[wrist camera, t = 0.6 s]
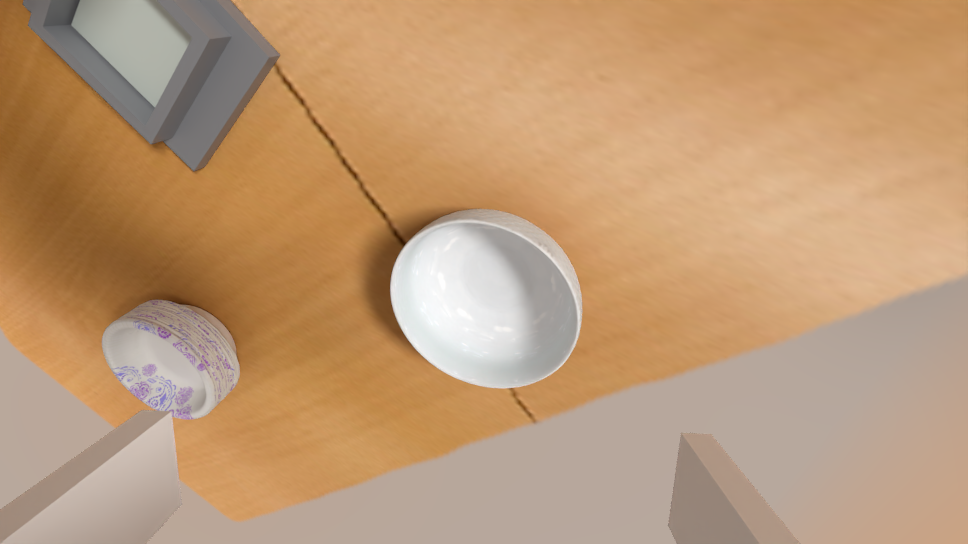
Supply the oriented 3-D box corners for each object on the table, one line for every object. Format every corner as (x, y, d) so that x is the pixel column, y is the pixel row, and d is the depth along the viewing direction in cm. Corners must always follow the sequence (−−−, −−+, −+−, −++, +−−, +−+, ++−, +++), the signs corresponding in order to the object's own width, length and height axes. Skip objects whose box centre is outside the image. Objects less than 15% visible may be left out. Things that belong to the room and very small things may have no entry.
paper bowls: (252, 308, 59) (203, 349, 52) (258, 393, 67) (217, 437, 61) (144, 270, 61) (84, 304, 54) (164, 356, 69) (114, 395, 62)
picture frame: (39, 3, 46) (-8, 5, 42) (86, -157, 37) (32, -171, 34) (204, 166, 50) (174, 179, 47) (280, 55, 42) (249, 61, 38)
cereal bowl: (620, 311, 45) (617, 359, 39) (479, 361, 53) (459, 408, 47) (527, 155, 40) (507, 183, 34) (386, 236, 48) (351, 271, 42)
